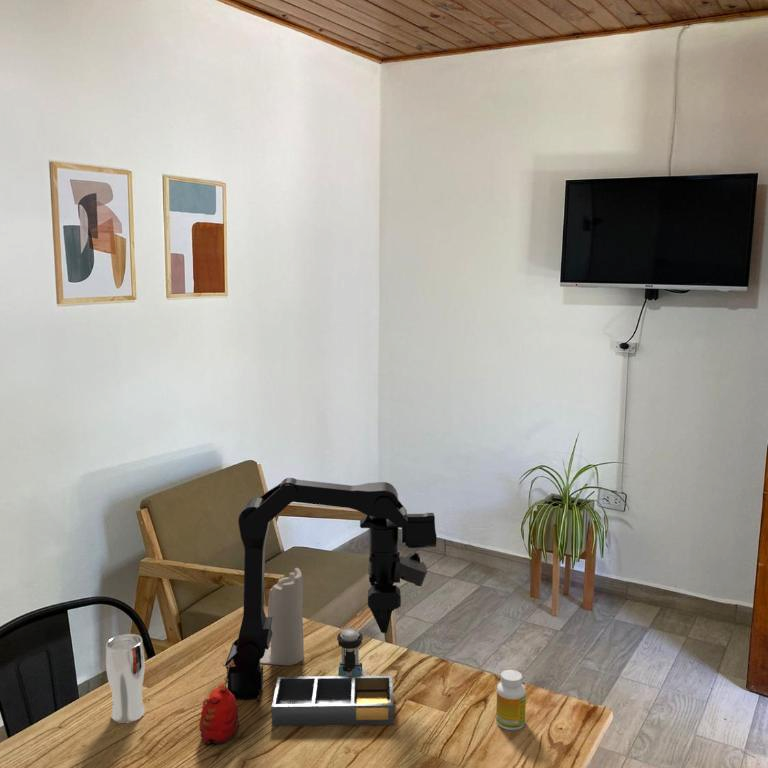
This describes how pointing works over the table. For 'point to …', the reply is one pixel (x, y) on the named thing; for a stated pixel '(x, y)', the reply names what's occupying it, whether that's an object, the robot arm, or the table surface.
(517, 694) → the supplement bottle
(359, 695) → the divided tray
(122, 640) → the beer glass
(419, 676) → the table surface
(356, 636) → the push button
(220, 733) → the red clay folk toy
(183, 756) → the table surface
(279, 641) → the grey tall wavy piece
